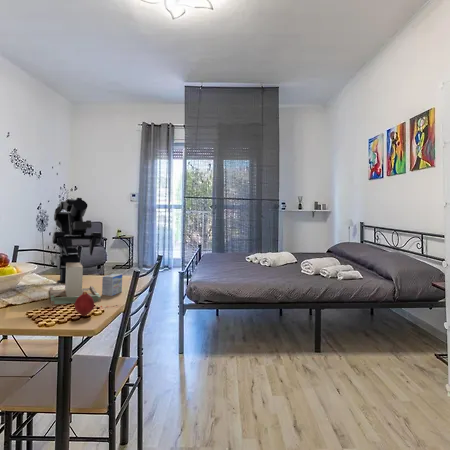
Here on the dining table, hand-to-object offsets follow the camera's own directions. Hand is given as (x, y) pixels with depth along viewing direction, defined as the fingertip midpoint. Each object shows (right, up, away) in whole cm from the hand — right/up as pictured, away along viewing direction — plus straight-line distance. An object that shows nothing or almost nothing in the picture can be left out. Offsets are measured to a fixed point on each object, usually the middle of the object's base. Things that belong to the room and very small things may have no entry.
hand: (79, 255), depth 144 cm
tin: (+1, -14, -9) cm, 17 cm away
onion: (+15, -17, -32) cm, 39 cm away
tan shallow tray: (+3, -16, -12) cm, 20 cm away
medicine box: (+15, -16, -5) cm, 23 cm away
